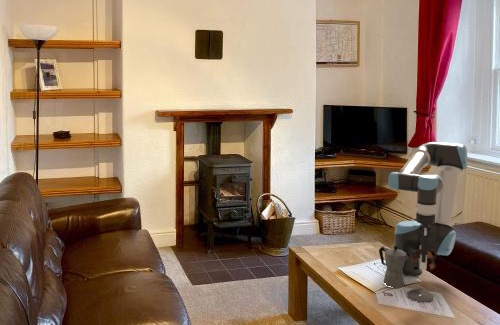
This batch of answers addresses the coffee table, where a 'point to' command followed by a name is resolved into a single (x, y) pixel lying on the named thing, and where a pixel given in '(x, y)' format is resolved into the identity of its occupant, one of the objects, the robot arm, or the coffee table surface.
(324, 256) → the coffee table surface
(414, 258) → the pottery mug
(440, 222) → the robot arm
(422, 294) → the disc
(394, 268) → the coffeepot
